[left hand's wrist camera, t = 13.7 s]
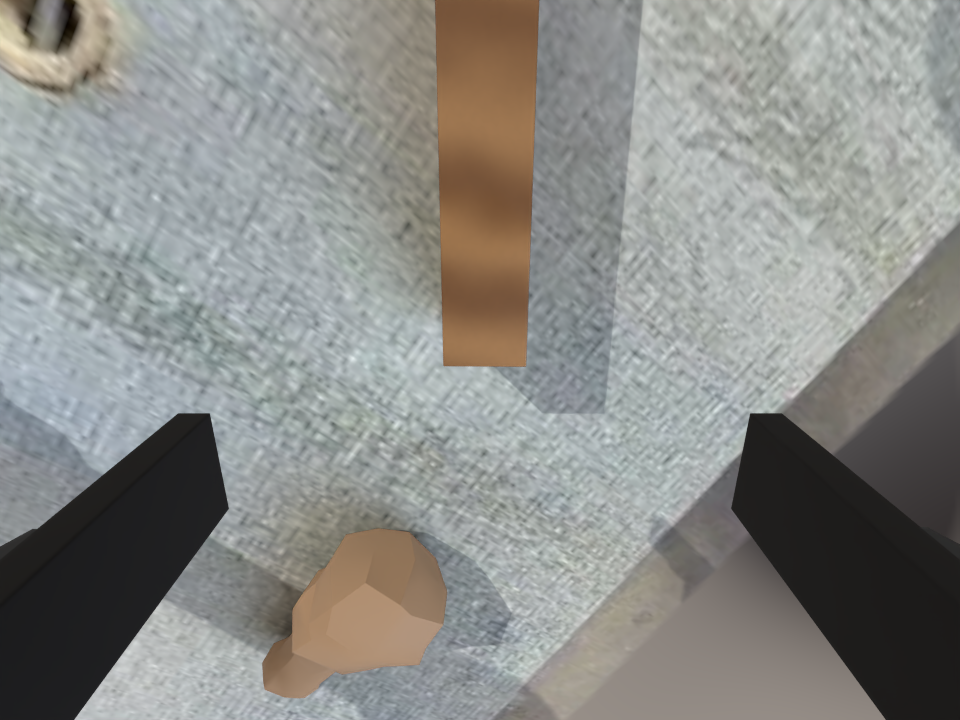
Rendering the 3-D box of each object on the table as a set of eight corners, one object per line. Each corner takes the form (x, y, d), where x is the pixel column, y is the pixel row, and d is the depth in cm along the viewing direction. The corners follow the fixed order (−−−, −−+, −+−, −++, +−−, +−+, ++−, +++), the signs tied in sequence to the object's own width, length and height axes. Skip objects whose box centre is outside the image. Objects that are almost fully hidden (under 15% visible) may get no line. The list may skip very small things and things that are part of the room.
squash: (475, 545, 44) (480, 652, 37) (350, 651, 52) (332, 757, 45) (366, 491, 40) (346, 598, 33) (248, 614, 48) (210, 724, 41)
